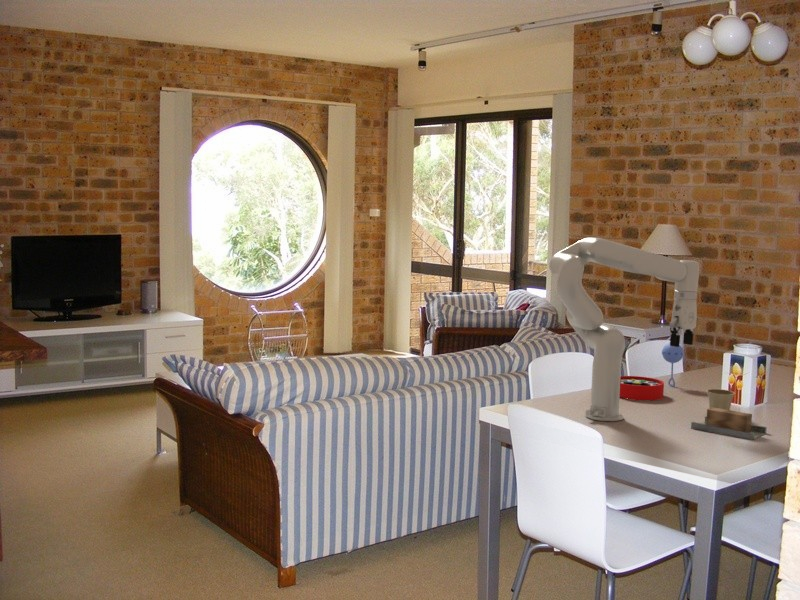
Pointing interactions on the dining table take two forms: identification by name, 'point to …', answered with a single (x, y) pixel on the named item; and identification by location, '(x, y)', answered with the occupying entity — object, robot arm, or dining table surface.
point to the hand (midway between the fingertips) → (681, 345)
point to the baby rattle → (672, 357)
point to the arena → (731, 430)
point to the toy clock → (641, 388)
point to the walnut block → (729, 419)
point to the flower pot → (720, 398)
